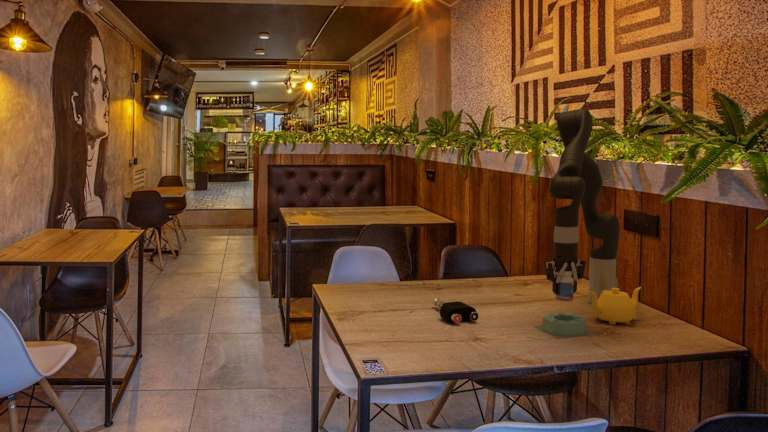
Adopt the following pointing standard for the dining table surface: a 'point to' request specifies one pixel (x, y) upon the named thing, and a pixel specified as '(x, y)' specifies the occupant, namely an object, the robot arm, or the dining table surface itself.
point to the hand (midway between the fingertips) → (564, 293)
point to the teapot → (615, 305)
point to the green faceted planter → (564, 324)
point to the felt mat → (564, 336)
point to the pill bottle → (566, 288)
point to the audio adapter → (456, 311)
